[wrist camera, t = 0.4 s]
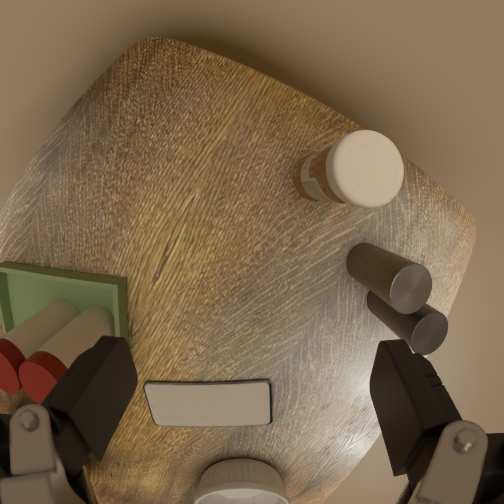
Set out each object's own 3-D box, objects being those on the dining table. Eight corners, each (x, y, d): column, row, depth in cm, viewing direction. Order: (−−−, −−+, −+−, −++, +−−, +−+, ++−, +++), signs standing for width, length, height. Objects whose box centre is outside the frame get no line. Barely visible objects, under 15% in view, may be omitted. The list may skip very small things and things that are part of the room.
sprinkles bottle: (316, 146, 28) (372, 113, 15) (346, 181, 29) (419, 174, 16) (282, 176, 29) (317, 162, 15) (313, 211, 29) (369, 225, 16)
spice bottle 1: (48, 295, 29) (-22, 340, 16) (80, 303, 29) (12, 357, 17) (51, 330, 30) (-11, 383, 17) (82, 339, 30) (24, 401, 18)
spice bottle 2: (81, 301, 29) (13, 354, 17) (118, 309, 30) (58, 372, 17) (83, 337, 30) (24, 399, 17) (118, 346, 31) (68, 417, 18)
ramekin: (209, 442, 34) (206, 480, 27) (299, 459, 36) (307, 494, 29) (188, 488, 36) (183, 520, 30) (265, 502, 38) (268, 533, 31)
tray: (16, 340, 31) (6, 348, 28) (5, 261, 29) (-7, 265, 26) (131, 369, 32) (125, 380, 29) (126, 277, 30) (117, 284, 27)
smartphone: (272, 424, 33) (154, 425, 33) (272, 421, 34) (155, 422, 33) (271, 380, 32) (141, 383, 31) (271, 378, 32) (143, 380, 32)
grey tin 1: (350, 239, 30) (397, 260, 20) (384, 246, 30) (437, 267, 20) (342, 277, 31) (383, 312, 21) (375, 282, 31) (424, 316, 21)
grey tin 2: (371, 278, 31) (420, 310, 21) (401, 282, 31) (453, 313, 21) (362, 312, 32) (404, 355, 22) (392, 315, 32) (438, 355, 22)
